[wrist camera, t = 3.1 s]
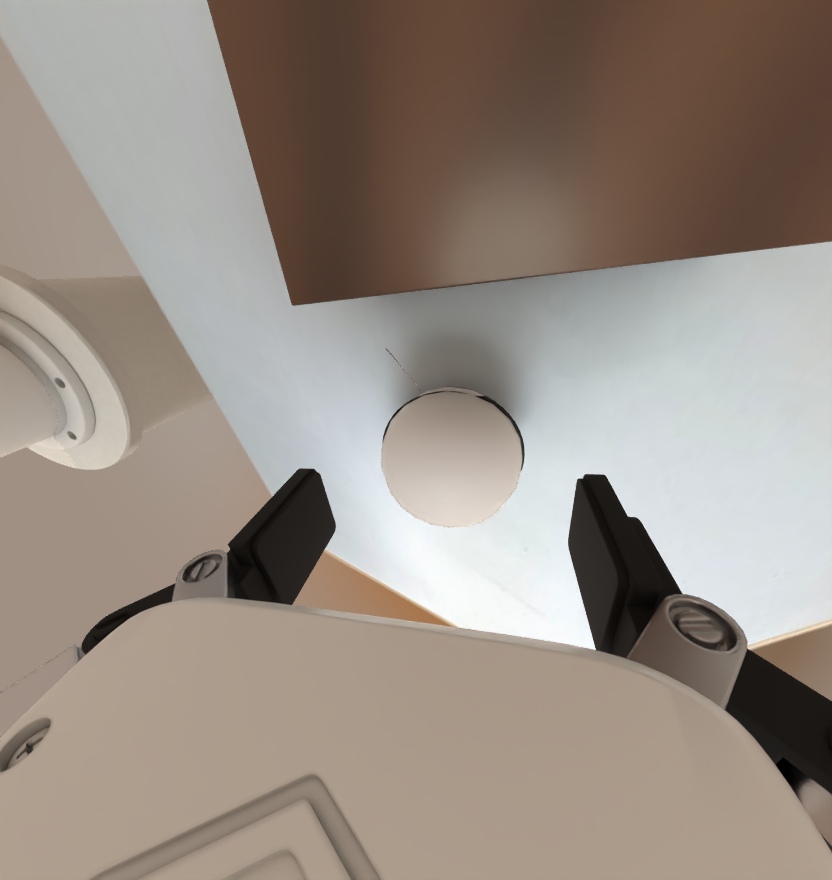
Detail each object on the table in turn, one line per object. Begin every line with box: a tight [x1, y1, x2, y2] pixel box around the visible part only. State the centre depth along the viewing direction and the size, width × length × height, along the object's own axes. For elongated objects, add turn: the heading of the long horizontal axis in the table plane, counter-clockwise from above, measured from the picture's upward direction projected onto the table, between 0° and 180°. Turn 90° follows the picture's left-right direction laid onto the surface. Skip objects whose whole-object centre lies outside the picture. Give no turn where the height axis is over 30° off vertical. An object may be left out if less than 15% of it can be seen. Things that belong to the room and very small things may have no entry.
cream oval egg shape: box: [381, 349, 525, 528], centre depth 16 cm, size 10×7×7 cm
